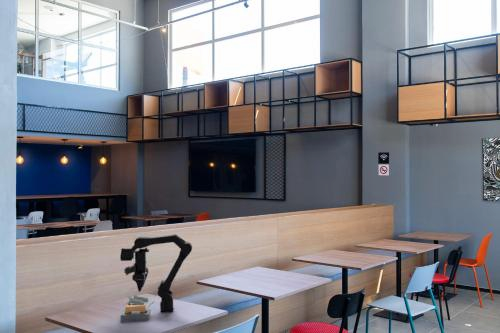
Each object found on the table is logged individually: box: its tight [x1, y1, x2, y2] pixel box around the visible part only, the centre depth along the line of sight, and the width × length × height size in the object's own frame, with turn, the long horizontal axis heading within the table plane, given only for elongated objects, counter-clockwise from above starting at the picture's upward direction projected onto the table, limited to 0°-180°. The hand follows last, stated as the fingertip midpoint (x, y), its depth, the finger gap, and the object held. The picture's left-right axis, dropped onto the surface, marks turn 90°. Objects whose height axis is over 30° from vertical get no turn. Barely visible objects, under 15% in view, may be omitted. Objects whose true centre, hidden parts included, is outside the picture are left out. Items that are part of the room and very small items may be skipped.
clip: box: [124, 304, 147, 314], centre depth 246 cm, size 10×2×6 cm, turn 95°
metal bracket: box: [126, 294, 155, 310], centre depth 271 cm, size 14×6×15 cm
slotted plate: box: [120, 309, 152, 322], centre depth 246 cm, size 14×8×3 cm, turn 95°
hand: (140, 289), depth 258 cm, fingers open, 9 cm apart
